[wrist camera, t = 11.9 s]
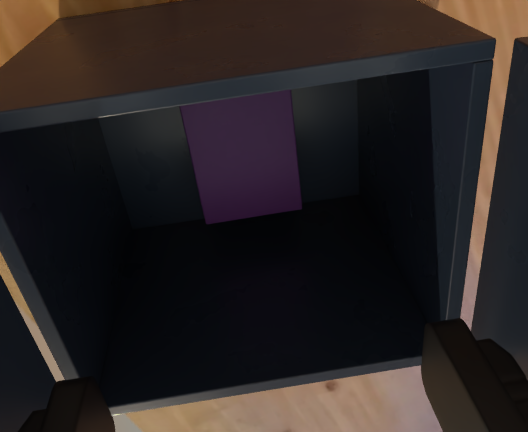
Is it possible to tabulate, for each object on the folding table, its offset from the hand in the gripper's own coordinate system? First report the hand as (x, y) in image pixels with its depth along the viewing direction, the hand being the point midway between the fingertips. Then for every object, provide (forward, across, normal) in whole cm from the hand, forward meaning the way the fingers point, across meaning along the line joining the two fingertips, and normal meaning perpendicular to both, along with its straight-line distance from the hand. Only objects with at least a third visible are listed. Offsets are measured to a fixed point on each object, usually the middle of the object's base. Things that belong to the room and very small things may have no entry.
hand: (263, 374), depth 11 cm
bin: (+15, 0, 0) cm, 15 cm away
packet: (+15, 0, 0) cm, 15 cm away
